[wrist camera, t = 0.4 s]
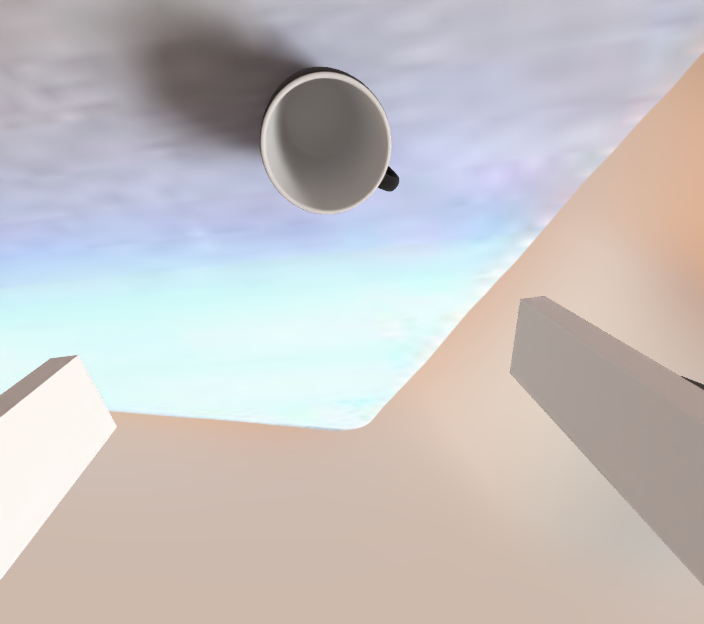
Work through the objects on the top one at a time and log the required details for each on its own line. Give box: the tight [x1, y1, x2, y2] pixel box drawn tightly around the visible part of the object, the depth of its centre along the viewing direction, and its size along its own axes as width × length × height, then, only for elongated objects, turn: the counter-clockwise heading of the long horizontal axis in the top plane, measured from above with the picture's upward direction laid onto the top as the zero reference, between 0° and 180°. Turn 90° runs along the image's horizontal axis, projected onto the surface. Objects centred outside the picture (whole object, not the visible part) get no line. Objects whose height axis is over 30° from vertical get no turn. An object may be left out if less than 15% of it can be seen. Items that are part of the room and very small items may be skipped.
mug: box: [260, 67, 399, 214], centre depth 26 cm, size 12×9×10 cm
